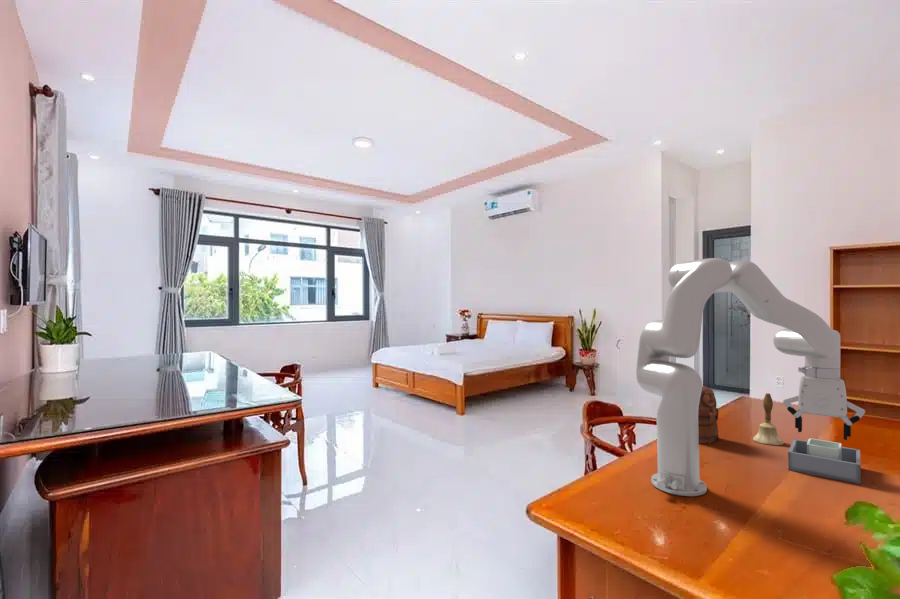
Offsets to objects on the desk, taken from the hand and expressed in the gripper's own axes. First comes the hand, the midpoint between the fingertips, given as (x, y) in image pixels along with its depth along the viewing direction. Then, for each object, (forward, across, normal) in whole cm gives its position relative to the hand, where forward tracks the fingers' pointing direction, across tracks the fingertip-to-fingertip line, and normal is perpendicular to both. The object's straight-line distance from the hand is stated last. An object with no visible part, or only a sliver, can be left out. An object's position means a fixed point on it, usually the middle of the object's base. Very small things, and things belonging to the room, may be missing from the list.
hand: (822, 434), depth 121 cm
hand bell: (+10, -14, +19) cm, 26 cm away
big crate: (+10, 0, +1) cm, 10 cm away
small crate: (+8, 0, +1) cm, 9 cm away
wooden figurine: (+10, -30, +8) cm, 33 cm away
